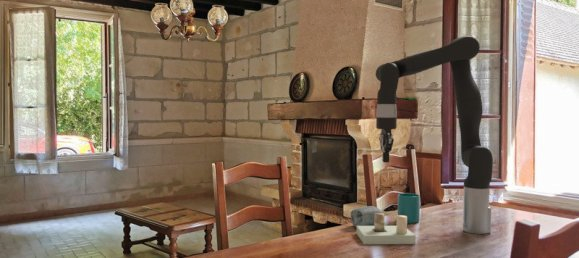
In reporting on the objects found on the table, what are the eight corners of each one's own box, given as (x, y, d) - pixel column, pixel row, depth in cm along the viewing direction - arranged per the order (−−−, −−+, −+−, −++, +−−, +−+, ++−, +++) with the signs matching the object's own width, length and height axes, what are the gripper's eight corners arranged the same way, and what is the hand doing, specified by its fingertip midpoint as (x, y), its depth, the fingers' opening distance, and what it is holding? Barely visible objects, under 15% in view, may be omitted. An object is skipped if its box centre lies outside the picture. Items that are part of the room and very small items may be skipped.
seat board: (403, 233, 176) (404, 209, 176) (415, 243, 162) (415, 218, 162) (356, 233, 175) (356, 210, 175) (364, 244, 161) (364, 218, 161)
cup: (428, 220, 198) (428, 194, 197) (410, 224, 190) (411, 197, 190) (410, 216, 205) (410, 191, 204) (393, 220, 197) (393, 194, 197)
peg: (382, 237, 170) (383, 212, 170) (385, 240, 167) (385, 215, 167) (373, 237, 170) (373, 213, 170) (375, 240, 167) (375, 215, 166)
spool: (358, 223, 178) (358, 198, 182) (345, 229, 185) (345, 205, 190) (388, 229, 182) (387, 205, 187) (374, 235, 190) (373, 211, 195)
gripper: (401, 116, 169) (400, 164, 169) (391, 116, 182) (391, 160, 183) (380, 116, 168) (380, 164, 169) (372, 116, 182) (372, 160, 182)
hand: (385, 162), depth 176 cm, fingers closed
